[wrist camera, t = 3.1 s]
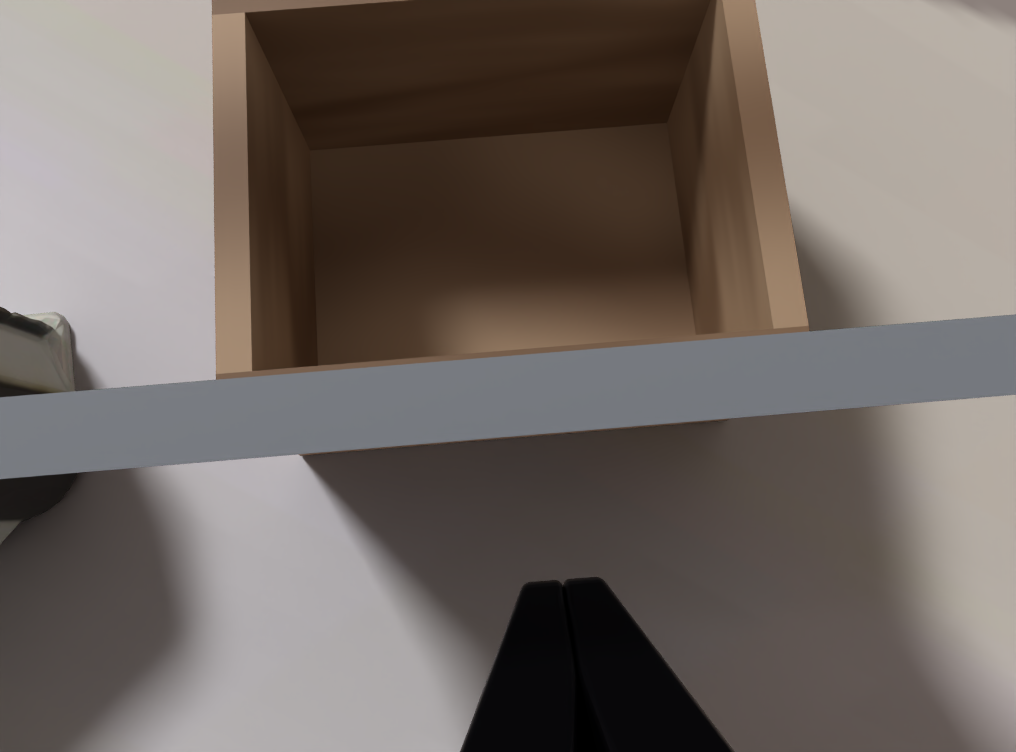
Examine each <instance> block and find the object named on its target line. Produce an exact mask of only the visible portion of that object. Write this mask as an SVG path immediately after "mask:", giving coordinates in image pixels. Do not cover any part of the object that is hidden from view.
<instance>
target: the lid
mask: <svg viewBox="0 0 1016 752" xmlns="http://www.w3.org/2000/svg"><path fill="white" fill-rule="evenodd" d="M1004 395H1016V315H1004V316H992V317H980V318H967V319H955V320H943V321H931V322H918V323H906V324H894V325H882V326H869V327H857V328H845V329H833V330H820V331H808V332H796V333H784V334H771V335H759V336H747V337H735V338H722V339H710V340H698V341H686V342H673V343H661V344H649V345H636V346H624V347H612V348H600V349H587V350H575V351H563V352H551V353H538V354H526V355H514V356H502V357H489V358H477V359H465V360H453V361H440V362H428V363H416V364H404V365H391V366H379V367H367V368H355V369H342V370H330V371H318V372H306V373H293V374H281V375H269V376H256V377H244V378H232V379H220V380H207V381H195V382H183V383H171V384H158V385H146V386H134V387H122V388H109V389H97V390H85V391H73V392H60V393H48V394H36V395H24V396H11V397H0V479H7V478H19V477H31V476H43V475H55V474H67V473H79V472H91V471H103V470H115V469H127V468H139V467H151V466H163V465H175V464H187V463H199V462H211V461H223V460H235V459H247V458H259V457H271V456H283V455H295V454H307V453H319V452H331V451H343V450H356V449H368V448H380V447H392V446H404V445H416V444H428V443H440V442H452V441H464V440H476V439H488V438H500V437H512V436H524V435H536V434H548V433H560V432H572V431H584V430H596V429H608V428H620V427H632V426H644V425H656V424H668V423H680V422H692V421H704V420H716V419H728V418H740V417H752V416H764V415H776V414H788V413H800V412H812V411H824V410H836V409H848V408H860V407H872V406H884V405H896V404H908V403H920V402H932V401H944V400H956V399H968V398H980V397H992V396H1004Z"/></svg>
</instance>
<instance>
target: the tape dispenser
mask: <svg viewBox="0 0 1016 752" xmlns="http://www.w3.org/2000/svg"><path fill="white" fill-rule="evenodd" d="M73 391H76V390H75V381H74V369H73V357H72V347H71V338H70V329H69V323H68V321H67V320H66V319H65V318H64V316H62V315H60V314H58V313H56V312H49V313H40V314H30V315H21V314H18V313H16V312H15V313H10V312H9V311H7V310H6V309H4V308H2V307H0V397H11V396H24V395H36V394H48V393H60V392H73ZM76 475H77V473H67V474H55V475H43V476H31V477H19V478H7V479H0V544H1V543H2V542H3V541H4V540H5V538H6V537H7V536H8V535H9V534H10V533H11V532H12V531H13V530H14V529H15V527H16V526H17V525H18V524H19V523H20V522H22V521H24V520H27V519H29V518H31V517H34V516H36V515H39V514H41V513H43V512H45V511H47V510H49V509H50V508H51V507H52V506H54V505H55V504H56V503H58V502H59V501H60V500H61V499H62V497H63V496H64V495H65V494H66V493H67V491H68V490H69V489H70V487H71V485H72V483H73V481H74V479H75V477H76Z"/></svg>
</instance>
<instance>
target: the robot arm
mask: <svg viewBox="0 0 1016 752" xmlns="http://www.w3.org/2000/svg"><path fill="white" fill-rule="evenodd" d="M460 752H734V750H733V749H732V748H731V746H730V745H729V744H728V743H727V741H726V740H725V739H724V737H723V736H722V735H721V733H720V732H719V731H718V729H717V728H716V727H715V725H714V724H713V723H712V722H711V720H710V719H709V718H708V716H707V715H706V714H705V712H704V711H703V710H702V708H701V707H700V706H699V704H698V703H697V702H696V700H695V699H694V698H693V697H692V695H691V694H690V693H689V691H688V690H687V689H686V687H685V686H684V685H683V683H682V682H681V681H680V679H679V678H678V677H677V676H676V674H675V673H674V672H673V670H672V669H671V668H670V666H669V665H668V664H667V662H666V661H665V660H664V658H663V657H662V656H661V654H660V653H659V652H658V651H657V649H656V648H655V647H654V645H653V644H652V643H651V641H650V640H649V639H648V637H647V636H646V635H645V633H644V632H643V631H642V630H641V628H640V627H639V626H638V624H637V623H636V622H635V620H634V619H633V618H632V616H631V615H630V614H629V612H628V611H627V610H626V608H625V607H624V606H623V605H622V603H621V602H620V601H619V599H618V598H617V597H616V595H615V594H614V593H613V591H612V590H611V589H610V587H609V586H608V585H607V584H606V582H605V581H604V580H603V579H601V578H599V577H588V578H575V579H568V580H566V581H565V582H564V584H563V586H562V584H561V582H559V581H558V580H550V581H537V582H528V583H526V584H524V585H523V587H522V588H521V591H520V593H519V596H518V599H517V601H516V604H515V607H514V609H513V612H512V615H511V617H510V620H509V623H508V625H507V628H506V631H505V633H504V636H503V639H502V641H501V644H500V647H499V649H498V652H497V655H496V657H495V660H494V663H493V665H492V668H491V671H490V673H489V676H488V679H487V681H486V684H485V687H484V689H483V692H482V695H481V697H480V700H479V703H478V705H477V708H476V711H475V713H474V716H473V719H472V721H471V724H470V727H469V729H468V732H467V735H466V737H465V740H464V743H463V745H462V748H461V751H460Z"/></svg>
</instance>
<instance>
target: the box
mask: <svg viewBox="0 0 1016 752" xmlns="http://www.w3.org/2000/svg"><path fill="white" fill-rule="evenodd" d="M212 54H213V145H214V236H215V326H216V380H220V379H232V378H244V377H256V376H269V375H281V374H293V373H306V372H318V371H330V370H342V369H355V368H367V367H379V366H391V365H404V364H416V363H428V362H440V361H453V360H465V359H477V358H489V357H502V356H514V355H526V354H538V353H551V352H563V351H575V350H587V349H600V348H612V347H624V346H636V345H649V344H661V343H673V342H686V341H698V340H710V339H722V338H735V337H747V336H759V335H771V334H784V333H796V332H808V331H810V330H809V324H808V318H807V312H806V306H805V300H804V294H803V288H802V282H801V276H800V270H799V264H798V258H797V252H796V245H795V239H794V233H793V227H792V221H791V215H790V209H789V203H788V197H787V191H786V185H785V179H784V173H783V167H782V161H781V155H780V149H779V143H778V137H777V130H776V124H775V118H774V112H773V106H772V100H771V94H770V88H769V82H768V76H767V70H766V64H765V58H764V52H763V46H762V40H761V34H760V28H759V22H758V15H757V9H756V3H755V0H212ZM728 419H729V418H728ZM728 419H716V420H704V421H692V422H680V423H668V424H656V425H644V426H632V427H620V428H608V429H596V430H584V431H572V432H560V433H548V434H536V435H524V436H512V437H500V438H488V439H476V440H464V441H452V442H440V443H428V444H416V445H404V446H392V447H380V448H368V449H356V450H343V451H331V452H319V453H307V454H299V455H300V456H304V455H316V454H328V453H340V452H352V451H364V450H376V449H388V448H400V447H412V446H424V445H436V444H448V443H460V442H472V441H484V440H496V439H508V438H520V437H532V436H544V435H556V434H568V433H580V432H592V431H604V430H616V429H628V428H640V427H652V426H664V425H676V424H688V423H700V422H712V421H724V420H728Z"/></svg>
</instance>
